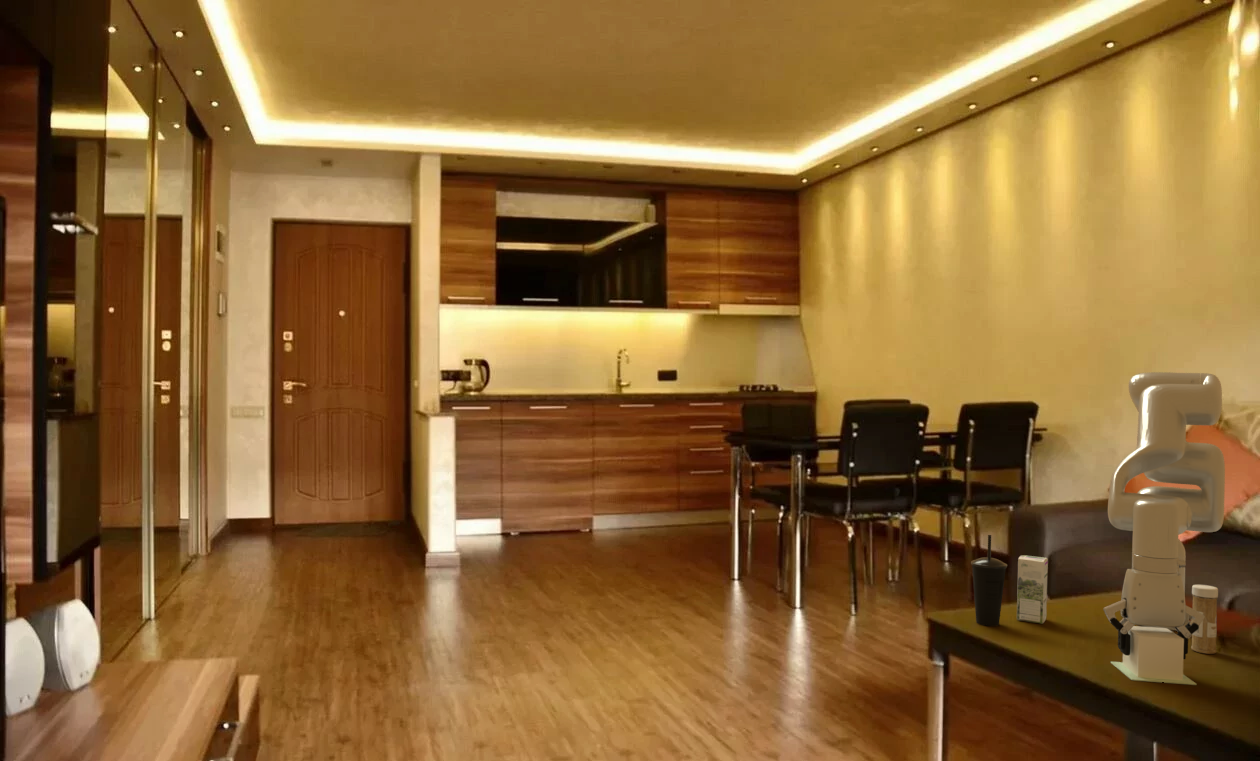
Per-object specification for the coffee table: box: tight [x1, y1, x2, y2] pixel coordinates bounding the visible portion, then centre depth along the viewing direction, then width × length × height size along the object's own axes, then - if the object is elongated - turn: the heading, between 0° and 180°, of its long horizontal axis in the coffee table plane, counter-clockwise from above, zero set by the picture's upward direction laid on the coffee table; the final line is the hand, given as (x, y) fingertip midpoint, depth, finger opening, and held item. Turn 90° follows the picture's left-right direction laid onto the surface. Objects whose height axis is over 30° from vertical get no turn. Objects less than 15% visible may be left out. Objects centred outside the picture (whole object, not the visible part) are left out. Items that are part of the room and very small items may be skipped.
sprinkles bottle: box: [1190, 584, 1219, 655], centre depth 189 cm, size 5×5×14 cm
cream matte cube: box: [1122, 625, 1184, 680], centre depth 173 cm, size 8×8×8 cm
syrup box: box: [1016, 554, 1049, 624], centre depth 211 cm, size 6×6×14 cm
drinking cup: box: [970, 534, 1008, 627], centre depth 207 cm, size 8×8×20 cm
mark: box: [1110, 661, 1197, 686], centre depth 173 cm, size 11×11×1 cm
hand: (1152, 655), depth 173 cm, fingers open, 9 cm apart
